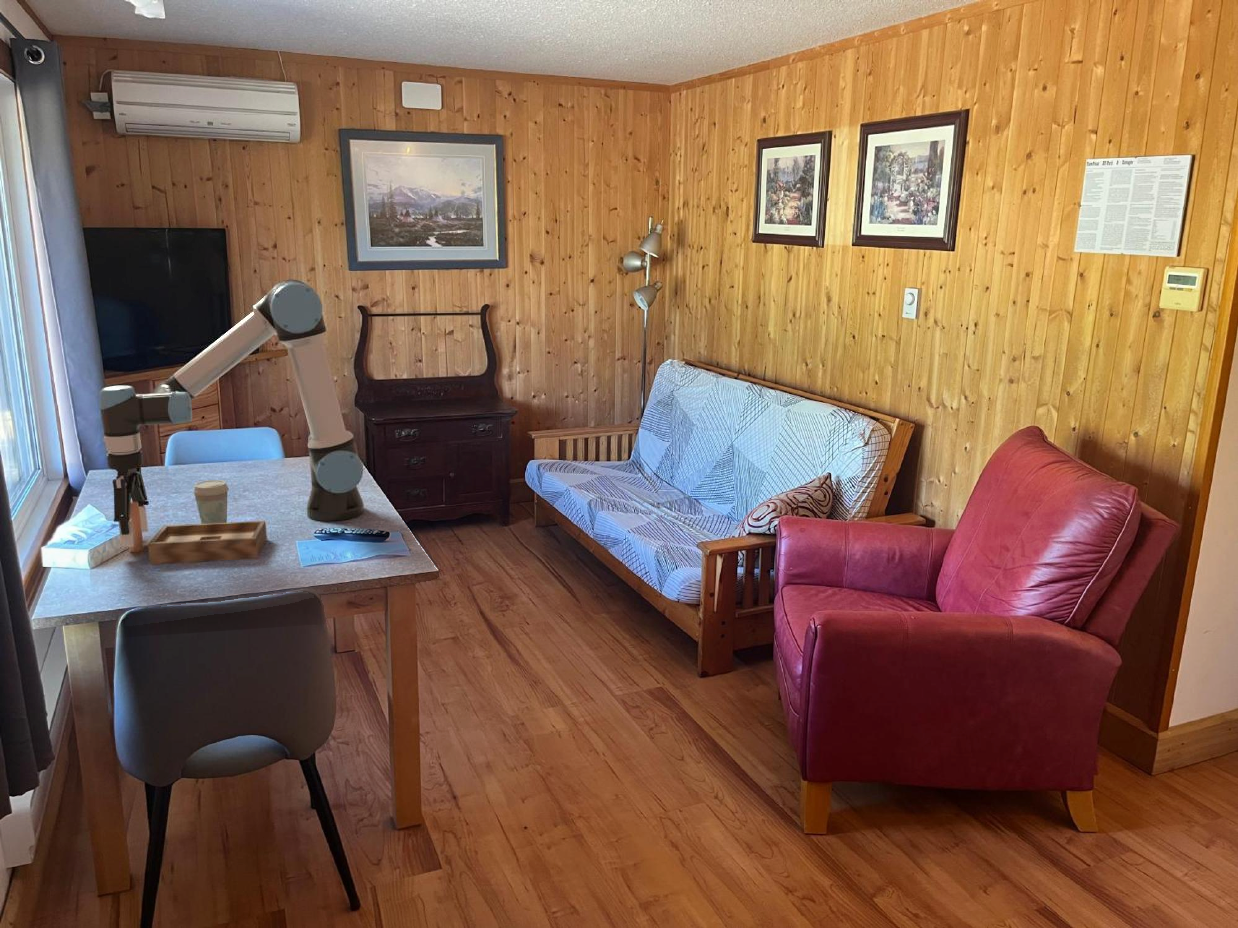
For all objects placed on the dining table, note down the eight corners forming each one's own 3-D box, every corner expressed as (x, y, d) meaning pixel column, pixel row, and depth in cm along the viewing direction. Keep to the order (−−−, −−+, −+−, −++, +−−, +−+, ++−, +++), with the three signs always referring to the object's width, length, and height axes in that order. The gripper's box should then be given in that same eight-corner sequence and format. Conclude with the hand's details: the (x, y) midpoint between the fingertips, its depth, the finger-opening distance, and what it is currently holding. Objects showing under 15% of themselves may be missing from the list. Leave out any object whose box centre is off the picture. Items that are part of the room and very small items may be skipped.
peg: (145, 547, 235) (139, 501, 232) (141, 551, 232) (135, 504, 229) (131, 548, 235) (125, 501, 232) (127, 552, 232) (121, 505, 229)
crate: (267, 539, 242) (265, 520, 241) (257, 558, 229) (255, 538, 227) (166, 544, 238) (163, 525, 236) (150, 564, 224) (147, 544, 223)
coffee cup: (194, 534, 246) (190, 489, 242) (199, 524, 253) (194, 480, 250) (230, 531, 248) (225, 487, 245) (234, 521, 256) (229, 478, 253)
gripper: (122, 440, 238) (132, 525, 243) (90, 463, 216) (103, 555, 221) (154, 439, 239) (164, 523, 244) (126, 462, 217) (137, 553, 223)
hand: (135, 538), depth 233 cm, fingers open, 10 cm apart
